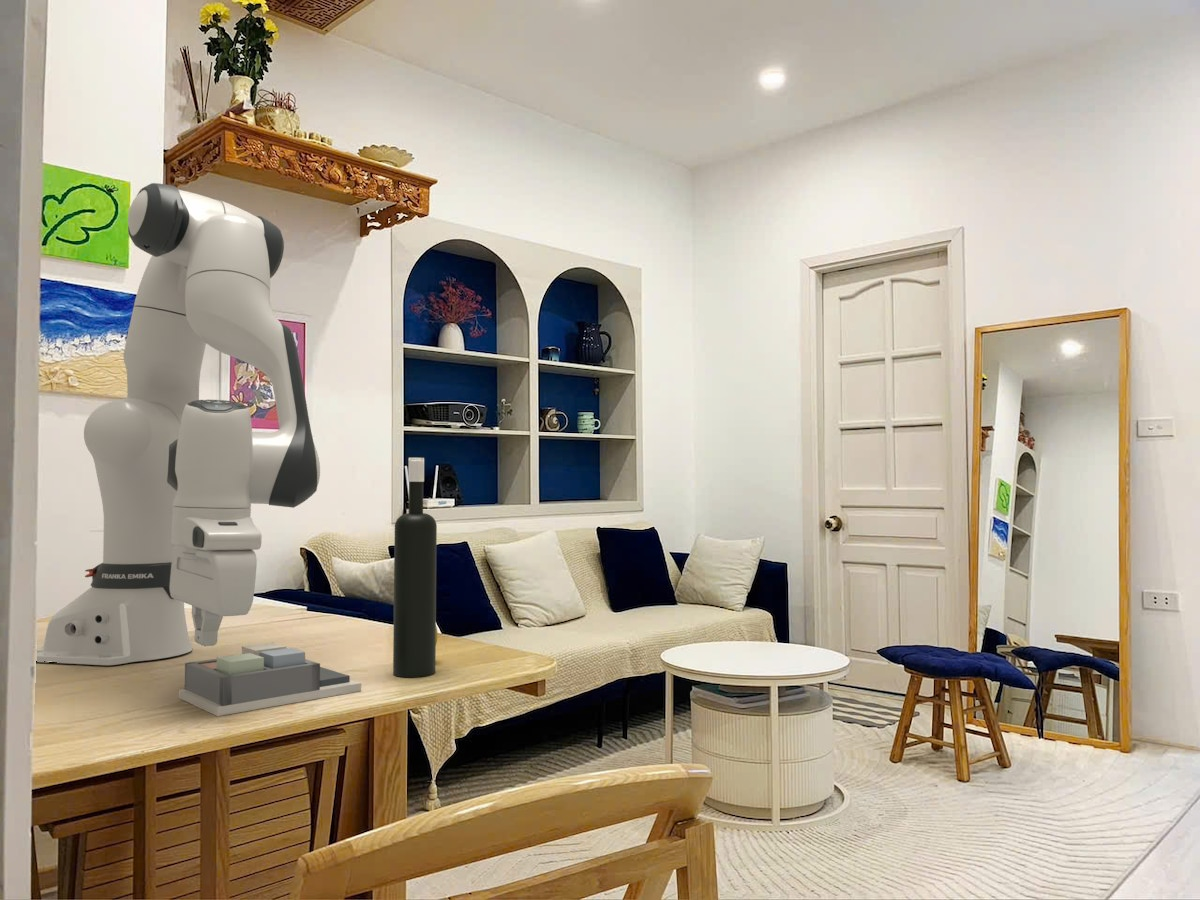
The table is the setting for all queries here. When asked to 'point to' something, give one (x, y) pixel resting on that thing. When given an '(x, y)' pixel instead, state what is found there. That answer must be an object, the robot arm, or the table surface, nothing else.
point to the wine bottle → (415, 584)
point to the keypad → (260, 687)
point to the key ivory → (261, 648)
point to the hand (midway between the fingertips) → (205, 644)
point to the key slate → (283, 658)
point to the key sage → (240, 664)
